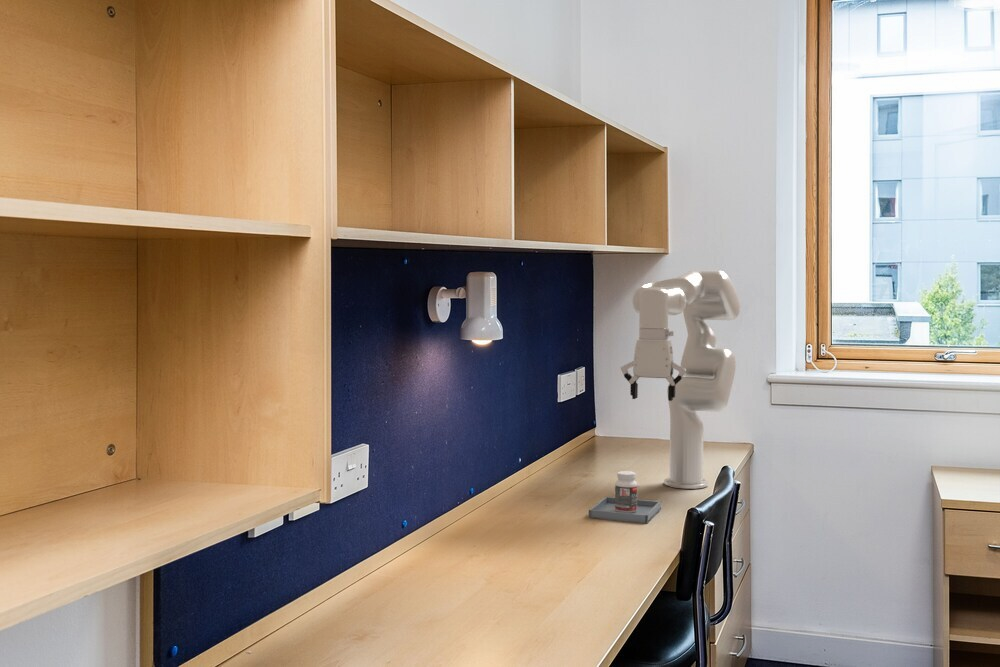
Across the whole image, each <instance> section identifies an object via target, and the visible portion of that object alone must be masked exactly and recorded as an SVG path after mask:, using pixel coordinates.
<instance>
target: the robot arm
mask: <svg viewBox="0 0 1000 667" xmlns="http://www.w3.org/2000/svg"><path fill="white" fill-rule="evenodd" d="M632 306H633V309H634V310H635V312H636V313H638V314H639V315H638V317H639V320H638V321H639V323H638V327H639V328H638V329H639V330H638V337H639V338H638V339H636V343H635V348H634V355H633V361H631V362H629V363H626V364H624V365H622V366H621V367H620V371H621V372H622V374H623V377H624V378H625V379H626V380H627V381H628V383H629V384H630V396H632V397H631V399H632V400H635V399H637V398H638V395H639V394H638V393H639V392H638V389H639V388H638V387H639V386H638V383H637V381H638V379H640V378H645V379H646V378H651V379H666V381H667V382H668V386H667V400H668V401H667V402H668V406H669V407H668V408H669V420H670V421H669V424H670V426H669V427H670V428H669V477H666V478H664V479H663V484H664V485H665V486H668V487H670V488H675V489H684V490H685V489H686V490H689V489H693V490H694V489H703V488H706V487H708V486H709V482H708V480H706V479H705V478H703V472H704V471H703V470H704V467H703V466H704V424H703V421H702V419H701V418H700V416H699V414H698V413H697V412H699V411H700V412H712V413H713V412H714V413H716V412H717V413H719V412H722V411H725V409H726V408H727V406H728V403H729V398H730V395H731V391H732V387H733V382H734V378H735V374H736V367H737V364H736V363H737V362H736V356H735V354H734V352H732V351H731V350H729V349H727V348H722V347H720V348H719V347H716V343H717V337H716V334H715V332H714V330H713V329H712V327H710V326H709V325H708V324H707V323H706V321H732V320H735V319H736V318H737V317H738V316H739V314H740V312H741V302H740V297H739V295H738V293H737V290H736V288H735V286H734V284H733V282H732V280H731V278H730V277H729V275H728V274H727V273H725V271H722V270H691V271H688V272H686V273H683V274H682V275H680V276H677V277H673V278H669V279H667V278H666V279H663V280H659V281H652V282H649V283H645V284H642V285H640V286H639V287H638V288H637V289H636V290H635V291H634V293H633V296H632ZM681 313H683V318H684V322H685V326H686V330H687V338H686V342H685V345H684V349H683V353H682V355H681V360H680V364H677V363H676V362H674V354H673V353H674V352H673V344H672V340H670V339H669V338H670V337H674V331H673V330H670V328H669V316H676V315H680V314H681ZM630 368H633V369H632V370H633V371H632V372H633V376H632V375H631V374H630V373H629V369H630ZM674 370H676V371H677V372H678V375H677V376H676V377H674V376H673V375H674Z"/></svg>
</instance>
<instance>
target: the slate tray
mask: <svg viewBox="0 0 1000 667" xmlns="http://www.w3.org/2000/svg"><path fill="white" fill-rule="evenodd" d="M661 510H662V501H658V500H648V499H647V500H646V499H638V498H637V511H636V512H633V513H622V512H617V511H616V510H615V496H612V497H611V496H605V497H603V498H602V499H600V501H599V502H597V503H596V504H594V505H593V506H592V507H590V508H589V509H588V518H589V519H597V520H598V519H599V520H608V521H617V522H618V521H619V522H629V523H638V524H639V523H640V524H649V522H650V521H652V519H653V518H654V517H655V516H656V515H657V514H658V513H660V511H661Z"/></svg>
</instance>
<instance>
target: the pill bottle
mask: <svg viewBox="0 0 1000 667" xmlns="http://www.w3.org/2000/svg"><path fill="white" fill-rule="evenodd" d="M616 474H617V476H616V477H617V478H618V479H617V480H616V481H615V483H614V484H615V485H614V488H615V489H614V497H615V510H616V511H617V512H622V513H633V512H636V511H637V499H638V482H637V481H636V480H635V479H636V478H637V475H636V472H635V471H631V470H623V471H622V470H620V471H618V472H617V473H616Z"/></svg>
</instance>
